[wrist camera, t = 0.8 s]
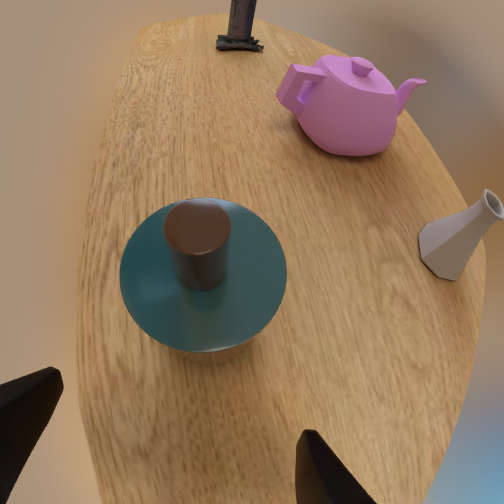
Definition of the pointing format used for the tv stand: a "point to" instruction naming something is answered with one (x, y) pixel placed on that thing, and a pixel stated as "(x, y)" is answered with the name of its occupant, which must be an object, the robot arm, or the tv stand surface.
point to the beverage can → (240, 27)
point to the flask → (458, 236)
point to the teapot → (345, 104)
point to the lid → (203, 275)
